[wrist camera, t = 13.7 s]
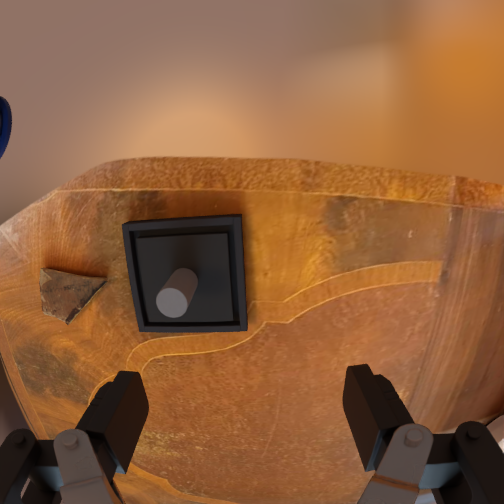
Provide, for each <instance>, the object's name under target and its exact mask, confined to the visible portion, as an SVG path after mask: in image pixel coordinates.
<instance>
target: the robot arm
mask: <svg viewBox="0 0 504 504" xmlns="http://www.w3.org/2000/svg"><path fill="white" fill-rule="evenodd" d="M2 125H3V119H2V113H1V110H0V137H1V133H2ZM343 408H344V412H345V415H346V418H347V420H348V423H349V426H350V429H351V432H352V435H353V437H354V440H355V443H356V446H357V449H358V452H359V455H360V458H361V461H362V464H363V466H364V469H365V472H367V471H371V470H375V471H376V472H375V474H374V476H372V478H371V480H370V481H369V483H368V485H367V487H366V489H365V490H364V492H363V494H362V496H361V497H360V499H359V501H358V502H357V504H415V501H416V499H417V496H418V493H419V490H420V489H431V490H432V493H433V495H434V498H435V500H436V503H437V504H504V453H503V451H502V449H501V448H500V446H499V445H498V443H497V442H496V440H495V439H494V437H493V436H492V434H491V432H490V431H489V430H488V428H487V427H486V426H485V425H483V424H482V423H479V422H475V421H468V422H465V423H462V424H461V425H460V426H458V428H457V429H456V432H455V433H450V434H432V432H431V431H430V430H429V429H428V428H427V427H425V426H423V425H420V424H415V423H414V421H413V419H412V417H411V416H410V414H409V412H408V411H407V409H406V407H405V405H404V404H403V402H402V400H401V399H399V395H398V394H397V392H395V389H394V387H393V385H392V384H391V382H390V381H389V380H388V379H386V378H385V377H384V376H382V375H381V374H379V375H374V374H373V373H372V371H371V369H370V367H369V366H368V364H361V365H354V366H348V367H347V371H346V378H345V385H344V391H343ZM148 411H149V404H148V399H147V396H146V393H145V389H144V386H143V382H142V379H141V376H140V374H139V372H132V371H119V372H118V374H117V376H116V377H115V379H114V381H113V382H107V383H106V384H105V385H103V386H102V387H101V388H100V389H99V390H98V392H97V393H96V395H95V397H94V398H93V400H92V401H91V403H90V405H89V406H88V408H87V410H86V411H85V413H84V414H83V416H82V418H81V419H80V421H79V423H78V424H77V426H76V428H75V429H68V430H65V431H63V432H61V433H60V434H58V435H57V437H56V438H55V440H37V439H36V437H35V435H34V434H33V432H31V431H30V430H28V429H17V430H14V431H13V432H11V433H10V434H9V435H8V436H7V437H6V439H5V441H4V442H3V443H2V445H1V447H0V504H60V502H61V500H63V503H64V504H126V503H125V501H124V499H123V497H122V495H121V493H120V491H119V489H118V487H117V485H116V483H115V481H114V480H113V477H114V474H115V472H117V473H122V474H126V472H127V469H128V467H129V464H130V461H131V458H132V456H133V453H134V450H135V448H136V445H137V442H138V439H139V437H140V434H141V432H142V429H143V426H144V424H145V421H146V418H147V416H148ZM28 477H29V479H30V482H29V484H28V486H27V489H26V491H25V493H24V495H23V497H22V499H21V496H20V495H21V491H22V489H23V487H24V484H25V483H26V481H27V479H28Z"/></svg>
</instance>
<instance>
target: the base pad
mask: <svg viewBox="0 0 504 504" xmlns="http://www.w3.org/2000/svg"><path fill="white" fill-rule="evenodd" d="M122 230H123V238H124V246H125V253H126V260H127V267H128V273H129V279H130V285H131V291H132V297H133V302H134V307H135V312H136V317H137V322H138V327H139V332H240V331H247V330H248V321H247V304H246V286H245V268H244V250H243V232H242V214H231V215H213V216H196V217H181V218H167V219H153V220H140V221H129V222H126V223H124V224H122ZM220 231H228V237H229V253H230V268H231V283H232V297H233V310H234V320H233V321H218V322H149V319H148V314H147V308H146V303H145V297H144V291H143V285H142V278H141V272H140V265H139V257H138V250H137V242H136V238H138V237H139V236H149V235H166V234H183V233H201V232H220Z"/></svg>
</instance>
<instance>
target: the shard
mask: <svg viewBox="0 0 504 504" xmlns="http://www.w3.org/2000/svg"><path fill="white" fill-rule="evenodd" d="M106 280H107V278H100V277H88V276H79V275H76V274H71V273H66V272H61V271H57V270H54V269H47V268H41V270H40V281H39V284H40V292H41V301H42V311H43V313H44V314H46V315H50V316H53V317H56V318H58V319H60V320H62V321H64V322H65V323H66V324H67V325H69V324H70V323H71V322H72V320H73V319H74V318H75V317H76V316H77V315H78V314H79V312H80V311H81V310H82V309H83V308H84V307H85V306H86V305H87V304H88V303H89V302H90V301H91V299H92V298H93V297H94V296H95V295H96V294H97V293H98V292H99V290H100V289H101V288H102V287H103V286H104V285H105V284H106V283H107V281H106Z"/></svg>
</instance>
